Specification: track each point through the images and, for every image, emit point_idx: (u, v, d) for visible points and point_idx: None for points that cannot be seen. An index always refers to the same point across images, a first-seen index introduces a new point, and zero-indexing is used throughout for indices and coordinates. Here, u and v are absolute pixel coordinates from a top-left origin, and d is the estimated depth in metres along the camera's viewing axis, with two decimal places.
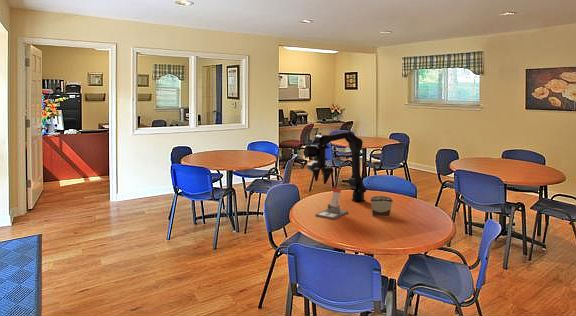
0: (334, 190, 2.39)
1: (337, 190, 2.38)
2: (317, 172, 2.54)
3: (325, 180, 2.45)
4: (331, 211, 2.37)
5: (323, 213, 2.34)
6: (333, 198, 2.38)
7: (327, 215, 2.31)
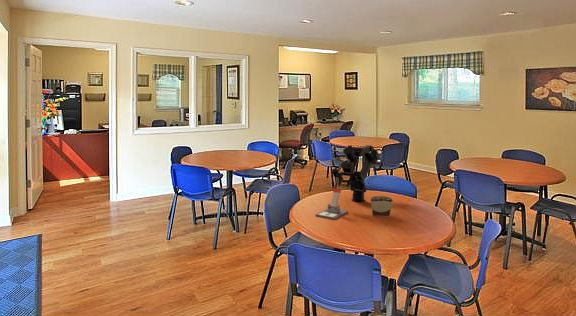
0: (334, 190, 2.39)
1: (337, 190, 2.38)
2: (341, 179, 2.50)
3: (349, 183, 2.44)
4: (331, 211, 2.37)
5: (323, 213, 2.34)
6: (333, 198, 2.38)
7: (327, 215, 2.31)
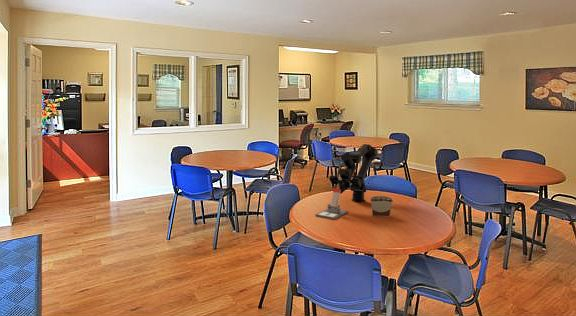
0: (334, 190, 2.39)
1: (337, 190, 2.38)
2: None
3: (343, 190, 2.44)
4: (331, 211, 2.37)
5: (323, 213, 2.34)
6: (333, 198, 2.38)
7: (327, 215, 2.31)
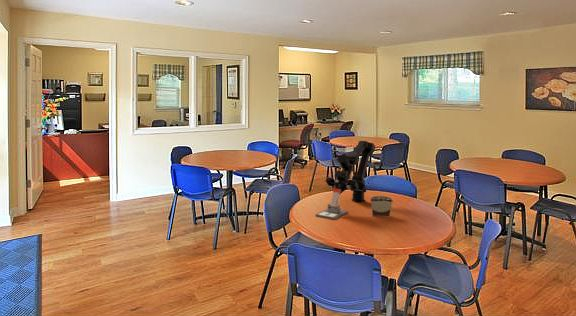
0: (334, 190, 2.39)
1: (337, 190, 2.38)
2: (339, 188, 2.43)
3: None
4: (331, 211, 2.37)
5: (323, 213, 2.34)
6: (333, 198, 2.38)
7: (327, 215, 2.31)
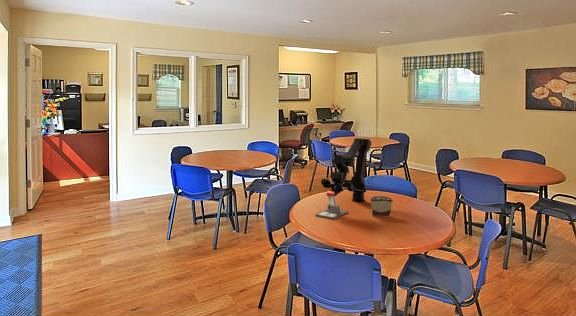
0: (328, 194, 2.33)
1: (331, 194, 2.32)
2: None
3: (335, 194, 2.36)
4: (331, 211, 2.37)
5: (323, 213, 2.34)
6: (330, 201, 2.35)
7: (327, 215, 2.31)
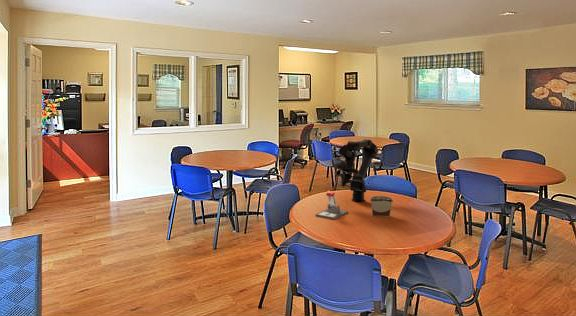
0: (328, 194, 2.33)
1: (331, 194, 2.32)
2: None
3: (344, 182, 2.47)
4: (331, 211, 2.37)
5: (323, 213, 2.34)
6: (330, 201, 2.35)
7: (327, 215, 2.31)
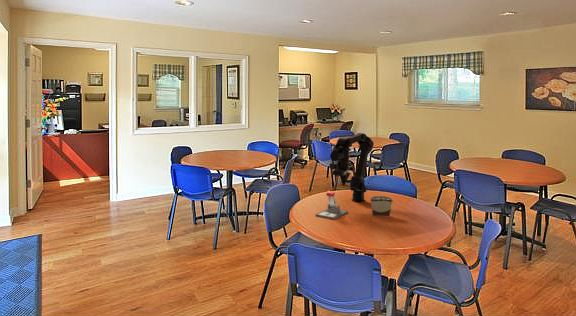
0: (328, 194, 2.33)
1: (331, 194, 2.32)
2: None
3: (342, 181, 2.50)
4: (331, 211, 2.37)
5: (323, 213, 2.34)
6: (330, 201, 2.35)
7: (327, 215, 2.31)
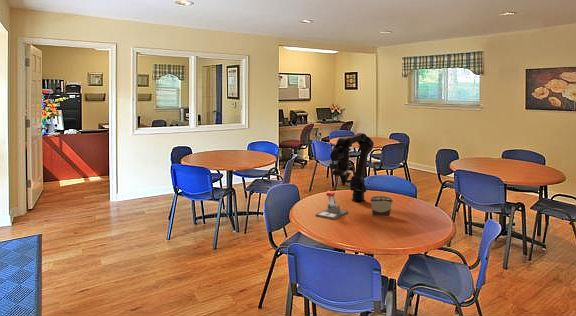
0: (328, 194, 2.33)
1: (331, 194, 2.32)
2: None
3: (342, 181, 2.50)
4: (331, 211, 2.37)
5: (323, 213, 2.34)
6: (330, 201, 2.35)
7: (327, 215, 2.31)
